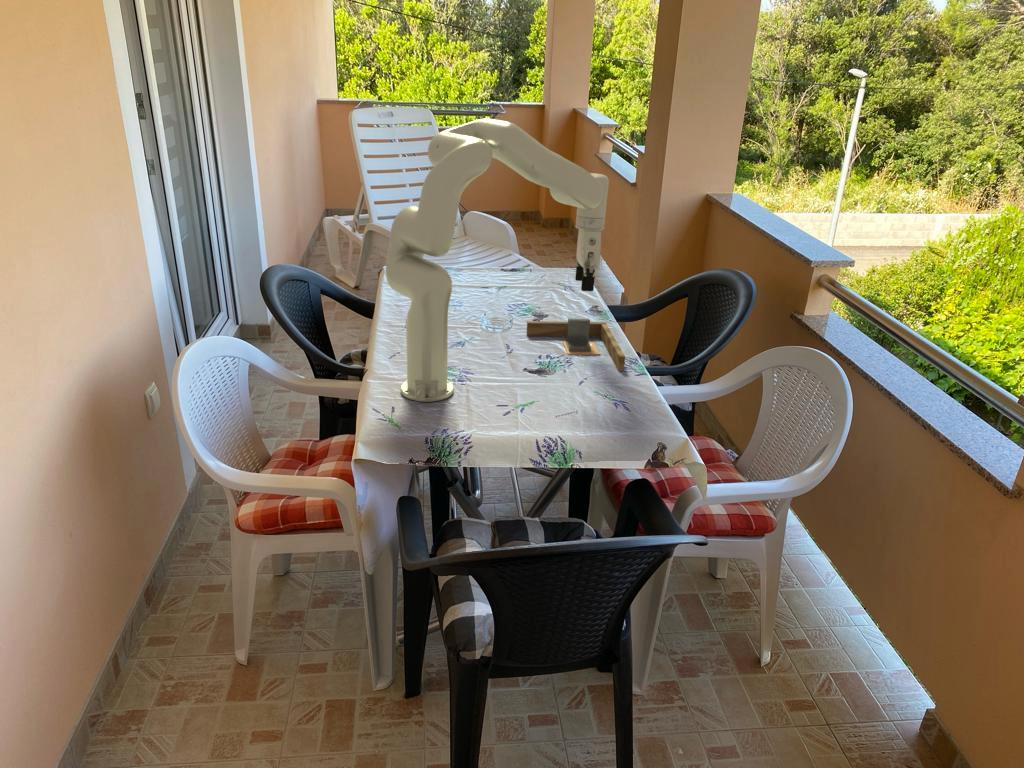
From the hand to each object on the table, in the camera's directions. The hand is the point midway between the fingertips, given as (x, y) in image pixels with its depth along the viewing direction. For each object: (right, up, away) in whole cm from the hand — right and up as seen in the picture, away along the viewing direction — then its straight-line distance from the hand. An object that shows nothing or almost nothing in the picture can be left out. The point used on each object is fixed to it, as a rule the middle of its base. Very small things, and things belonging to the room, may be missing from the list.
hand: (584, 285), depth 201 cm
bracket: (-1, -17, +5) cm, 18 cm away
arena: (-3, -18, +3) cm, 18 cm away
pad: (0, -17, +6) cm, 18 cm away
